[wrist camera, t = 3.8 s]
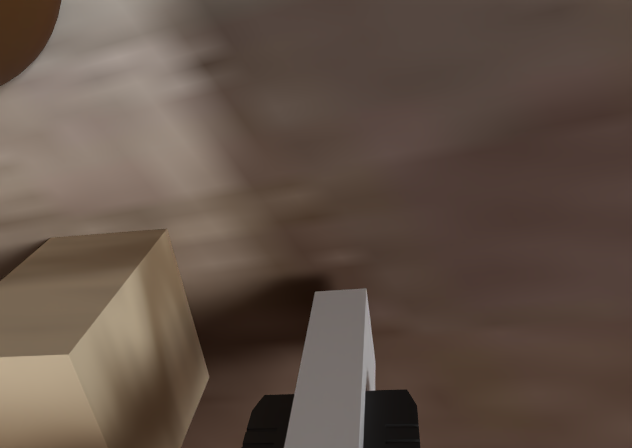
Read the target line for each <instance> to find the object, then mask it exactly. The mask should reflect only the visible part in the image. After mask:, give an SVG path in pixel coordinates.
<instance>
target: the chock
mask: <svg viewBox="0 0 632 448" xmlns="http://www.w3.org/2000/svg"><path fill="white" fill-rule="evenodd" d="M208 379H209V374H208V370H207V367H206V363H205V360H204V356H203V353H202V349H201V346H200V342H199V339H198V335H197V332H196V328H195V325H194V321H193V318H192V315H191V311H190V308H189V304H188V301H187V297H186V294H185V290H184V287H183V283H182V280H181V276H180V273H179V269H178V266H177V262H176V259H175V255H174V252H173V248H172V245H171V241H170V238H169V234H168V231H167V229H157V230H145V231H132V232H119V233H106V234H93V235H81V236H68V237H55V238H50V239H49V240H48V241H46V242H45V243H44V244H43V245H42V246H41V247H39V248H38V249H37V250H36V251H35V252H34V253H32V254H31V255H30V256H29V257H28V258H27V259H25V260H24V261H23V262H22V263H21V264H20V265H18V266H17V267H16V268H15V269H14V270H13V271H11V272H10V273H9V274H8V275H7V276H6V277H4V278H3V279H2V280H1V281H0V448H181V446H182V443H183V441H184V438H185V436H186V433H187V431H188V428H189V426H190V423H191V421H192V419H193V416H194V414H195V411H196V409H197V406H198V404H199V401H200V399H201V396H202V394H203V392H204V389H205V387H206V384H207V382H208Z"/></svg>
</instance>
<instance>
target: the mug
mask: <svg viewBox="0 0 632 448" xmlns="http://www.w3.org/2000/svg"><path fill="white" fill-rule="evenodd" d="M60 4H61V0H0V86H1V85H3V84H5V83H6V82H8V81H10V80H11V79H13V78H14V77H16V76H17V75H19V74H20V73H21V72H22V71H23V70H24V69H26V68H27V67H28V66H29V65H30V64H31V63H32V62H33V61H34V60H35V59H36V58H37V56H38V55H39V54H40V52H41V51H42V50H43V48H44V47H45V45H46V43H47V41H48V40H49V38H50V36H51V34H52V32H53V29H54V26H55V23H56V21H57V18H58V14H59V9H60Z"/></svg>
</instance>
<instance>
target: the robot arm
mask: <svg viewBox="0 0 632 448" xmlns="http://www.w3.org/2000/svg"><path fill="white" fill-rule="evenodd" d="M242 448H420V438H419V426H418V413H417V405H416V403H415V402H414V400H413V399H412V397H411V395H410V394H409V392H408V391H407V390H377V391H375V356H374V347H373V339H372V331H371V323H370V314H369V306H368V298H367V290H366V289H351V290H334V291H318V292H315V294H314V299H313V304H312V309H311V314H310V319H309V324H308V329H307V334H306V339H305V344H304V349H303V354H302V359H301V364H300V370H299V375H298V380H297V385H296V390H295V394H287V395H264V396H263V398H262V399H261V400H260V401H259V403H258V404H257V405H256V406H255V408H254V409H253V410H252V413H251V416H250V420H249V423H248V427H247V432H246V434H245V437H244V441H243V447H242Z"/></svg>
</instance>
